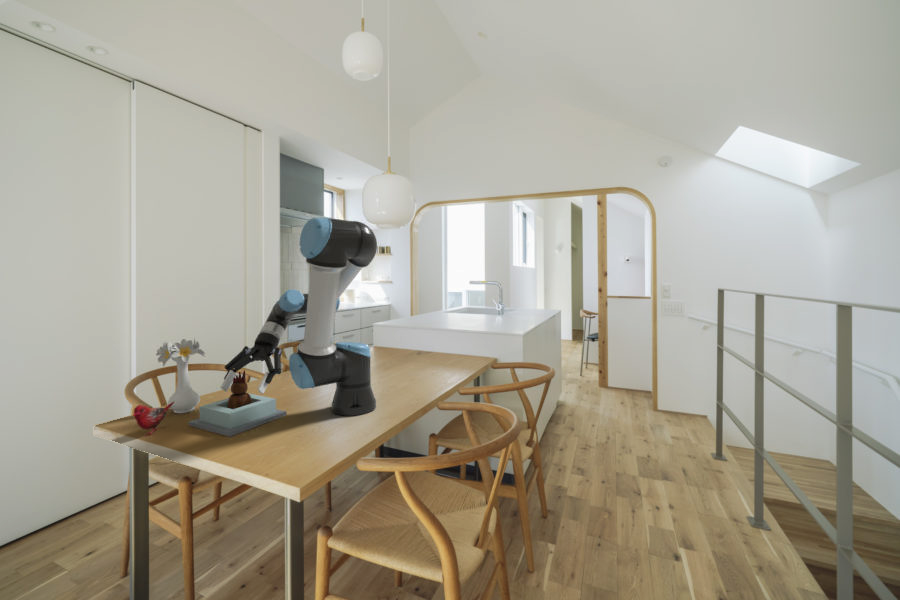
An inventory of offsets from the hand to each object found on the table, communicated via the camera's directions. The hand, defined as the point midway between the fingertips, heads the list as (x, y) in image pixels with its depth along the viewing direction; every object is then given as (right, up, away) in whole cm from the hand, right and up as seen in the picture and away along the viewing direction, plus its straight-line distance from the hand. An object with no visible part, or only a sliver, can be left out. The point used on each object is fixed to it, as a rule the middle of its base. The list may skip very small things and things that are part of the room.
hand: (241, 390), depth 128 cm
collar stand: (0, -9, -1) cm, 9 cm away
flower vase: (-25, -9, +8) cm, 27 cm away
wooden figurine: (0, -8, -1) cm, 8 cm away
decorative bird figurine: (-20, -10, -10) cm, 25 cm away
